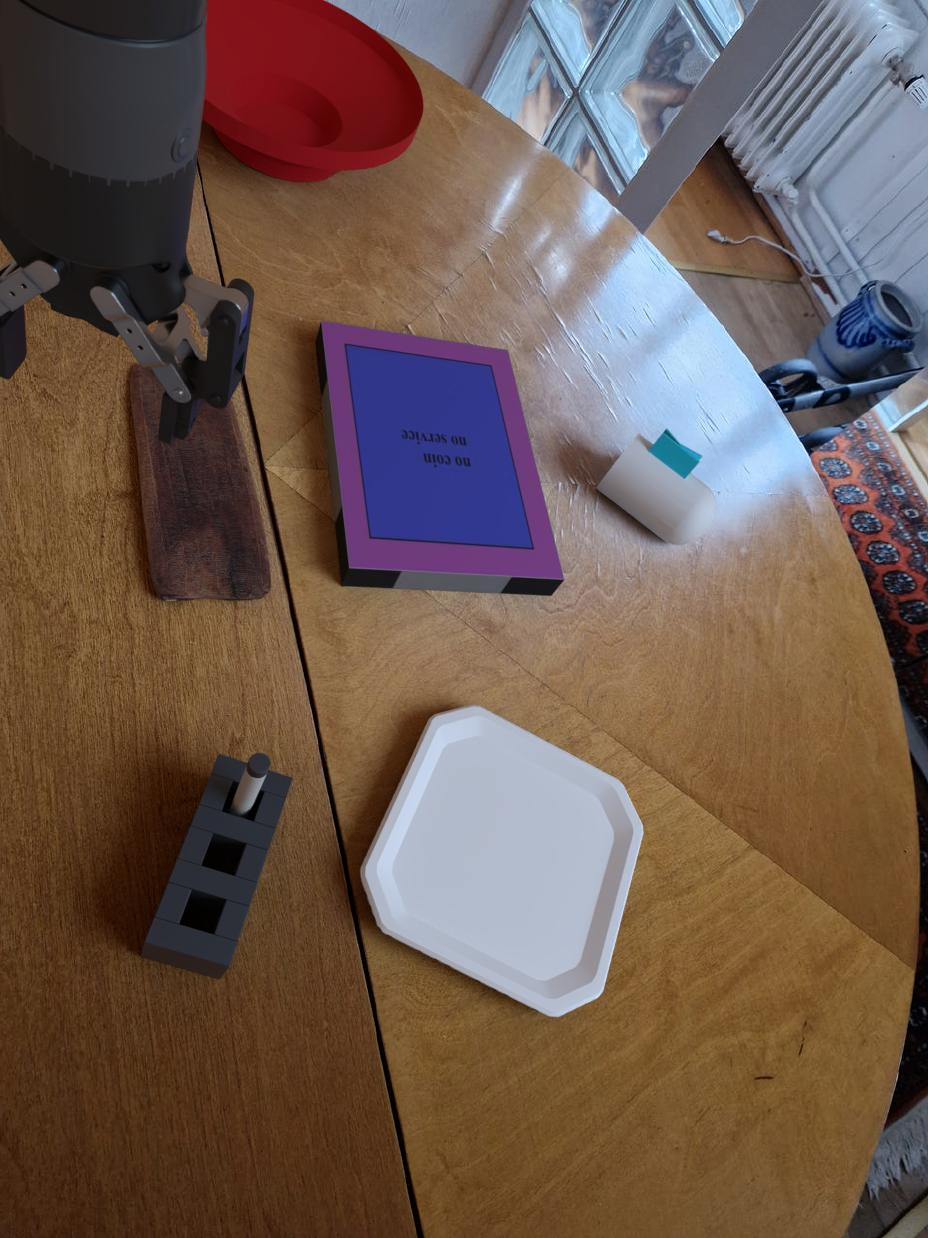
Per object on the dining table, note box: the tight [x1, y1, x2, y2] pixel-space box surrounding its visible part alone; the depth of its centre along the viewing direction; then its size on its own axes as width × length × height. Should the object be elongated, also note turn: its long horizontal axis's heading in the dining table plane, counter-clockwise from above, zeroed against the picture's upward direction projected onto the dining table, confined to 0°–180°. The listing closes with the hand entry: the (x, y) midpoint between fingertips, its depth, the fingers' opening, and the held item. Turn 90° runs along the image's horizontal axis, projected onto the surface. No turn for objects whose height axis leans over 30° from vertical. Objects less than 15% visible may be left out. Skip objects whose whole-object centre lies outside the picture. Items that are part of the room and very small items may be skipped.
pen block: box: [140, 753, 293, 980], centre depth 62 cm, size 13×6×5 cm, turn 168°
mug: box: [596, 427, 717, 546], centre depth 96 cm, size 12×9×12 cm
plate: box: [359, 704, 644, 1018], centre depth 71 cm, size 21×21×2 cm
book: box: [314, 320, 565, 597], centre depth 89 cm, size 21×3×30 cm
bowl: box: [202, 0, 425, 183], centre depth 105 cm, size 30×30×10 cm
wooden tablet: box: [129, 362, 272, 603], centre depth 79 cm, size 26×2×10 cm
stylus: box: [227, 752, 272, 820], centre depth 61 cm, size 1×1×12 cm
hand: (91, 400), depth 47 cm, fingers open, 8 cm apart
